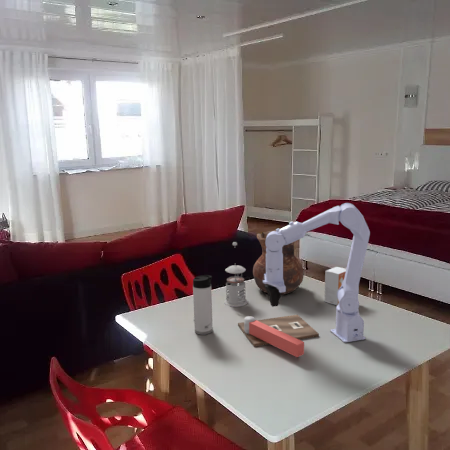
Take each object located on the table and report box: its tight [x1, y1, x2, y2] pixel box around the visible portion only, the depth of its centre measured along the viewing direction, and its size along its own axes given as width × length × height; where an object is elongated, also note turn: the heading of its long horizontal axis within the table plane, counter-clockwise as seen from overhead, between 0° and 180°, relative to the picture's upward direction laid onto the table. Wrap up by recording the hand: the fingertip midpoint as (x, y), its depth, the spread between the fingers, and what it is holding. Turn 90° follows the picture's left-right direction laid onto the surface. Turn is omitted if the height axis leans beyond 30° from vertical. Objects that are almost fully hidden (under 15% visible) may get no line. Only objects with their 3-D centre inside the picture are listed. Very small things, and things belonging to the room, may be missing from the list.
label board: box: [237, 314, 320, 348], centre depth 158 cm, size 17×23×1 cm
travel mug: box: [192, 274, 214, 336], centre depth 157 cm, size 6×7×20 cm
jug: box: [252, 229, 305, 296], centre depth 196 cm, size 22×21×25 cm
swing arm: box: [243, 315, 305, 358], centre depth 147 cm, size 4×25×4 cm, turn 39°
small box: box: [324, 266, 346, 306], centre depth 183 cm, size 8×6×13 cm
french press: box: [223, 241, 249, 308], centre depth 184 cm, size 10×12×25 cm
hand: (274, 305), depth 156 cm, fingers closed
